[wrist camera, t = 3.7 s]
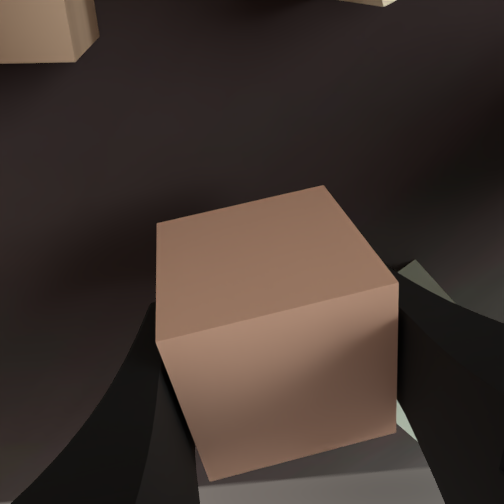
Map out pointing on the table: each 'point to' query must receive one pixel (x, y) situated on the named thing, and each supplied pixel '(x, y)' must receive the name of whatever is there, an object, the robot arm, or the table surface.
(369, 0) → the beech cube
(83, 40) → the tan cube
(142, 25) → the table surface
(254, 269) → the terracotta cube
